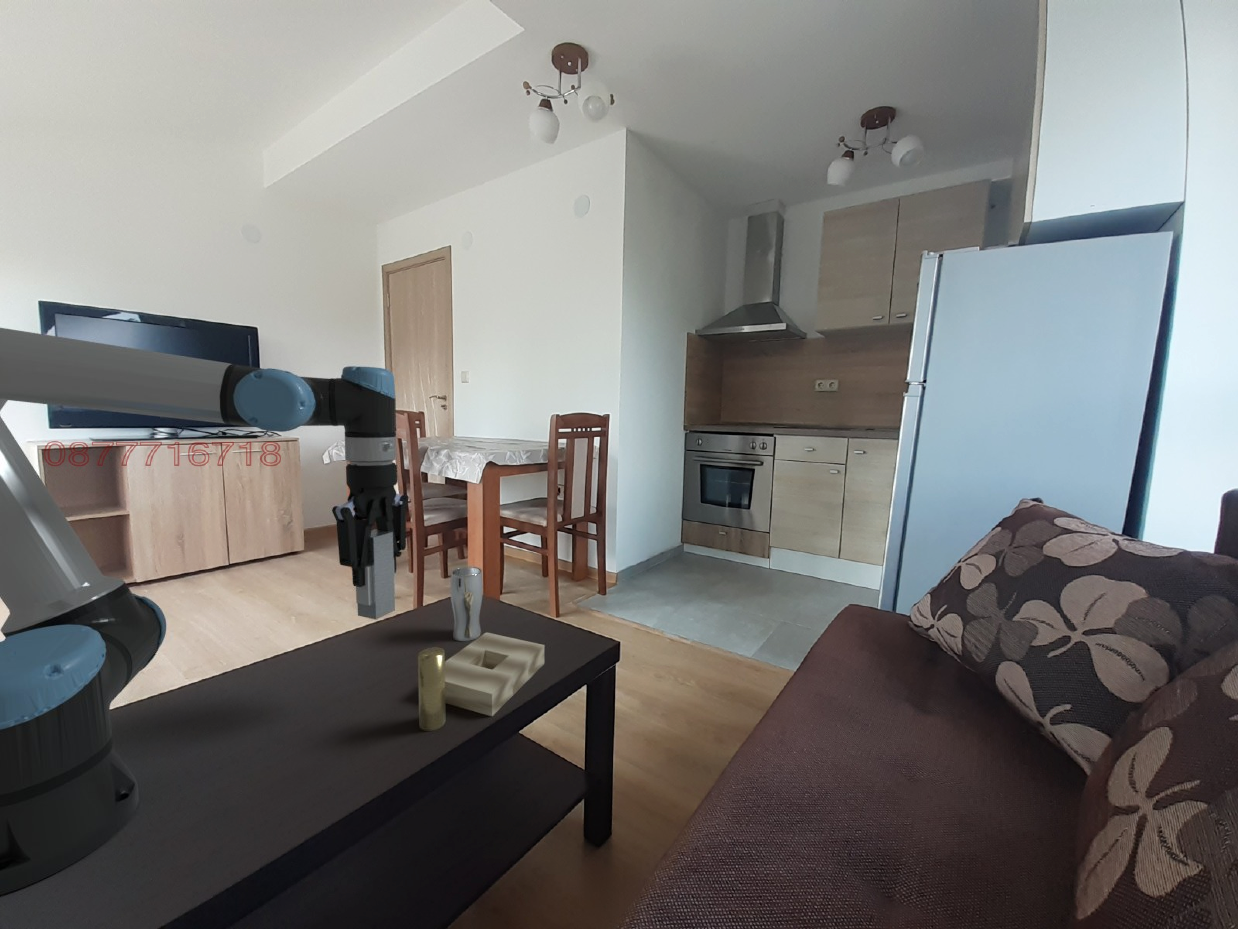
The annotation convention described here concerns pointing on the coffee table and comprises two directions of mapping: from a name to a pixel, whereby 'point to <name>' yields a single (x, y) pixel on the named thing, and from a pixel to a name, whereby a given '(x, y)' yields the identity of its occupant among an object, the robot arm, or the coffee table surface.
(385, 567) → the square bit
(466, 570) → the beer glass
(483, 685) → the socket block
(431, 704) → the round bit
